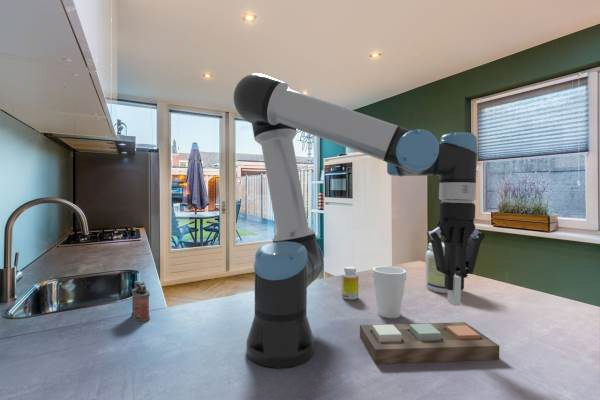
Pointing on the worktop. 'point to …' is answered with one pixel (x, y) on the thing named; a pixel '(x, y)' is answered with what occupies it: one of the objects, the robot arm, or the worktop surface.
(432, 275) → the supplement tub
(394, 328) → the cream tile
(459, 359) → the walnut board
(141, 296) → the lighter
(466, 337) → the terracotta tile
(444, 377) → the worktop surface
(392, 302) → the foam cup
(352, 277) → the supplement bottle
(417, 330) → the sage tile
